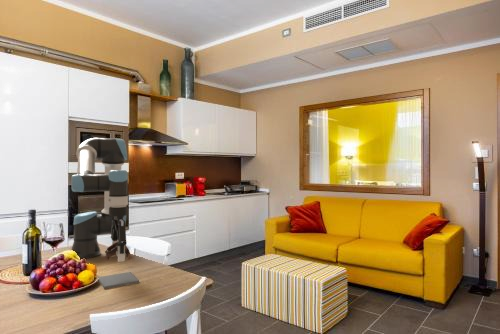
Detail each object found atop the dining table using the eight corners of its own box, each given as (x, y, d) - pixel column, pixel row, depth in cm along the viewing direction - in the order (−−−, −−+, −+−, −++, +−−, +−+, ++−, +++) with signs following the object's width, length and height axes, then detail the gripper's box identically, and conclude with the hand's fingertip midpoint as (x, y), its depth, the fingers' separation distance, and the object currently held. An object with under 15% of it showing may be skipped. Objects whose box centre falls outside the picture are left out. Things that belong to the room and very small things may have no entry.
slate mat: (97, 279, 150) (97, 277, 150) (130, 273, 158) (130, 271, 158) (104, 289, 139) (104, 286, 139) (139, 282, 147) (139, 280, 147)
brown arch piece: (130, 262, 144) (119, 246, 142) (110, 272, 144) (99, 257, 142) (136, 248, 156) (126, 233, 154) (117, 258, 156) (107, 243, 154)
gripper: (103, 204, 156) (103, 254, 156) (115, 209, 137) (115, 266, 137) (121, 203, 160) (121, 251, 160) (134, 208, 141) (134, 263, 141)
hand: (118, 258), depth 148 cm, fingers closed on brown arch piece, 10 cm apart
